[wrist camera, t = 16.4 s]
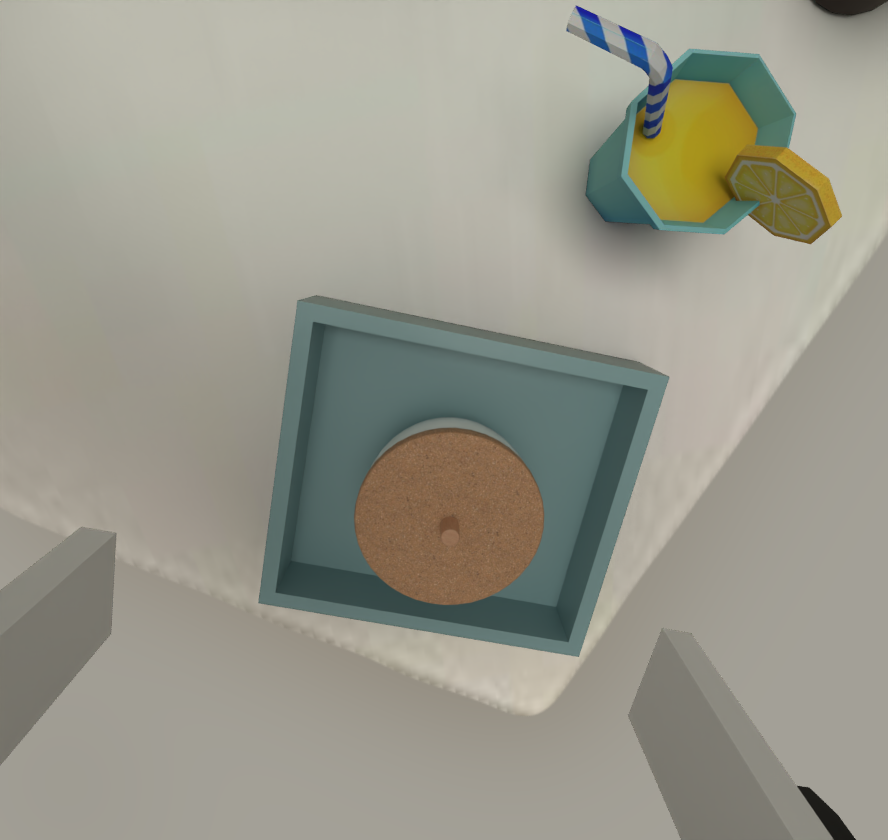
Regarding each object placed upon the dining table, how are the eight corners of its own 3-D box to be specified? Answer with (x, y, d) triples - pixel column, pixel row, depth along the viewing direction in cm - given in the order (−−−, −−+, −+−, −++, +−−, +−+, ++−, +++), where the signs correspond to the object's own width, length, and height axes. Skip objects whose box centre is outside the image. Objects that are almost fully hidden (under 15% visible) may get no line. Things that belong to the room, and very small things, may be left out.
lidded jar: (487, 561, 40) (502, 648, 31) (348, 512, 39) (322, 588, 30) (549, 431, 37) (584, 485, 28) (401, 374, 36) (390, 411, 27)
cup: (485, 180, 34) (521, 118, 19) (546, 51, 32) (636, -123, 18) (675, 282, 36) (837, 296, 21) (743, 166, 34) (972, 94, 19)
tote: (279, 563, 41) (258, 603, 36) (316, 295, 36) (297, 300, 31) (562, 612, 42) (578, 656, 38) (639, 362, 37) (669, 376, 32)
